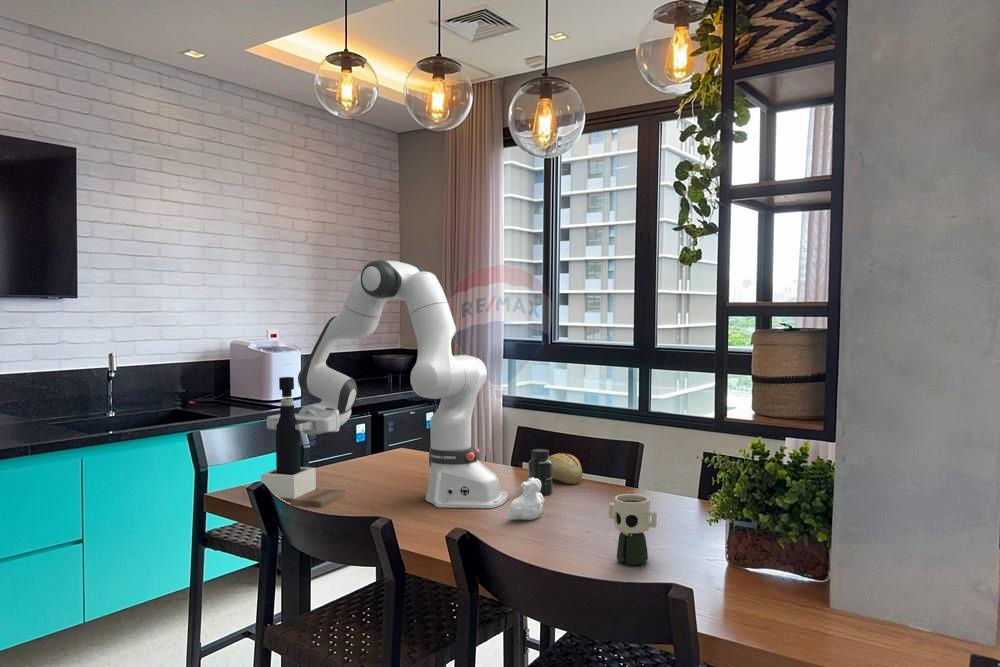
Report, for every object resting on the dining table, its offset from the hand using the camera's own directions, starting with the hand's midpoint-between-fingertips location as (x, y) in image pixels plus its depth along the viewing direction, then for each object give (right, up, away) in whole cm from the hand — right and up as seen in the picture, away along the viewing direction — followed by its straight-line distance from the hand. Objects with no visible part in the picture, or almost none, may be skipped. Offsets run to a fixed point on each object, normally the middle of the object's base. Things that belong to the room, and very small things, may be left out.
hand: (285, 427), depth 192 cm
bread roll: (+78, -19, +18) cm, 82 cm away
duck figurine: (+66, -20, -20) cm, 72 cm away
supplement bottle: (+70, -19, +4) cm, 73 cm away
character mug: (+86, -21, -51) cm, 102 cm away
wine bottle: (0, -17, +1) cm, 17 cm away
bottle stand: (+4, -20, 0) cm, 20 cm away
